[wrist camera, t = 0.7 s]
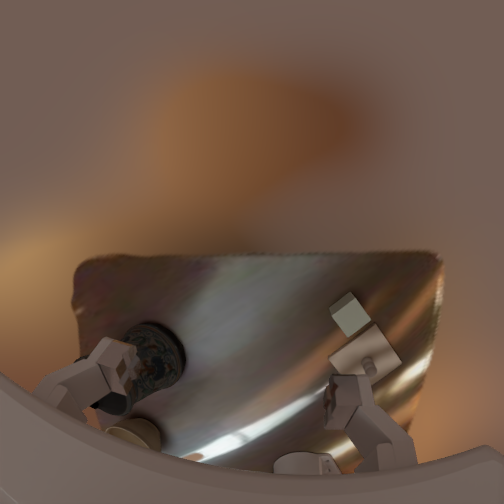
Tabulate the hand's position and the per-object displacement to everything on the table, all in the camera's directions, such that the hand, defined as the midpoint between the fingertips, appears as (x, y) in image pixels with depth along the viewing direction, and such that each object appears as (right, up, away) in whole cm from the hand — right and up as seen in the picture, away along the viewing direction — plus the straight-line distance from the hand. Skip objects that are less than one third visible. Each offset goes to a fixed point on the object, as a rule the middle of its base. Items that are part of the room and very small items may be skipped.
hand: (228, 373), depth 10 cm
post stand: (+25, -18, +42) cm, 52 cm away
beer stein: (-23, -20, +52) cm, 60 cm away
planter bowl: (-30, -47, +54) cm, 78 cm away
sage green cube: (+20, -7, +43) cm, 48 cm away
